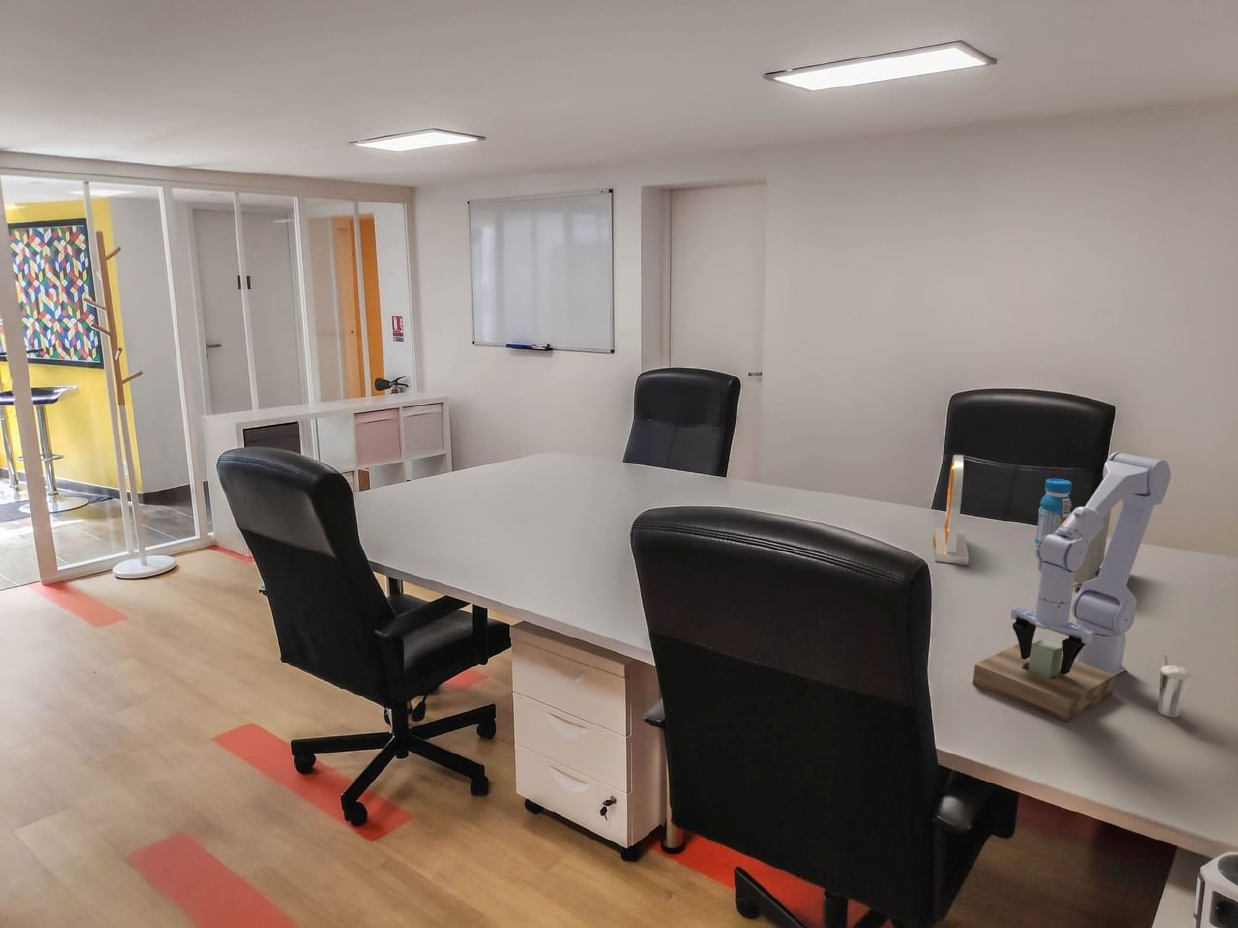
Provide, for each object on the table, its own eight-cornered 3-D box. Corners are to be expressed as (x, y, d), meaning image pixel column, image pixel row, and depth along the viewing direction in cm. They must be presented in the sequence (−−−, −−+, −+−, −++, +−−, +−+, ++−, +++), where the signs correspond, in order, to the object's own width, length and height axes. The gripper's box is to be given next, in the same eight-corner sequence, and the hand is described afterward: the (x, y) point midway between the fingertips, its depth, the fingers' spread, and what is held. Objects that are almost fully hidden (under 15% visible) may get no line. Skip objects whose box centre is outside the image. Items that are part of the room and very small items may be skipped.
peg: (1037, 677, 166) (1042, 639, 164) (1057, 685, 163) (1063, 646, 161) (1026, 682, 164) (1031, 644, 162) (1047, 690, 161) (1053, 651, 159)
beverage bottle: (1036, 549, 249) (1045, 482, 245) (1032, 541, 257) (1040, 476, 252) (1068, 552, 247) (1078, 485, 242) (1063, 544, 254) (1072, 479, 250)
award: (932, 533, 262) (941, 445, 256) (963, 537, 260) (973, 448, 254) (933, 561, 237) (943, 464, 231) (967, 565, 234) (978, 467, 228)
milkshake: (1168, 704, 158) (1177, 655, 156) (1188, 719, 153) (1198, 668, 151) (1145, 704, 158) (1153, 655, 156) (1164, 719, 153) (1173, 668, 151)
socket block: (1020, 659, 176) (1023, 641, 175) (1112, 694, 162) (1115, 674, 161) (972, 683, 165) (974, 664, 165) (1066, 722, 151) (1069, 701, 151)
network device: (1096, 595, 213) (1107, 518, 209) (1057, 587, 218) (1068, 512, 214) (1111, 569, 233) (1122, 498, 229) (1076, 562, 238) (1086, 493, 234)
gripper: (1006, 590, 163) (997, 656, 166) (1083, 615, 152) (1073, 685, 155) (1025, 583, 167) (1016, 647, 170) (1102, 606, 156) (1091, 675, 159)
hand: (1044, 664), depth 163 cm, fingers open, 7 cm apart
